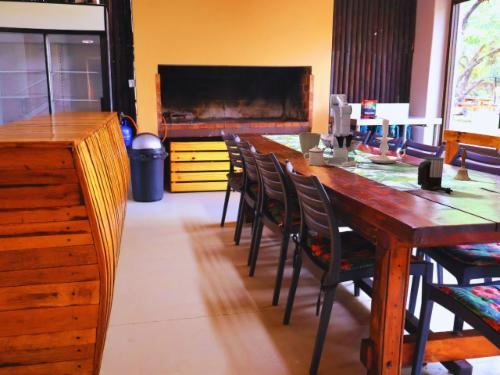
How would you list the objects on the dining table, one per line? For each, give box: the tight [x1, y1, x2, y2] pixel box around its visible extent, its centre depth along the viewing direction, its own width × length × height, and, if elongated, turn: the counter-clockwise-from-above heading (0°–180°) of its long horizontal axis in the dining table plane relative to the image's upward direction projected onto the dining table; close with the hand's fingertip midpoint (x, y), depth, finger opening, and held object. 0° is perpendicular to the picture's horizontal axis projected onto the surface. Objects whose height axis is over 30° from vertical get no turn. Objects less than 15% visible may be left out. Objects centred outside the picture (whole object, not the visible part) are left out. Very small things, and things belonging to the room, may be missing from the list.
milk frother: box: [417, 156, 454, 194], centre depth 209 cm, size 14×16×15 cm
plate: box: [335, 149, 350, 162], centre depth 282 cm, size 2×8×8 cm, turn 44°
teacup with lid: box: [303, 146, 325, 167], centre depth 281 cm, size 12×9×12 cm
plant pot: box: [298, 132, 322, 159], centre depth 313 cm, size 15×15×16 cm
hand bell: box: [452, 148, 472, 182], centre depth 236 cm, size 8×8×16 cm
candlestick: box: [366, 118, 407, 164], centre depth 289 cm, size 21×25×28 cm
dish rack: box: [325, 156, 358, 168], centre depth 282 cm, size 14×12×4 cm
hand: (344, 147), depth 283 cm, fingers open, 7 cm apart
